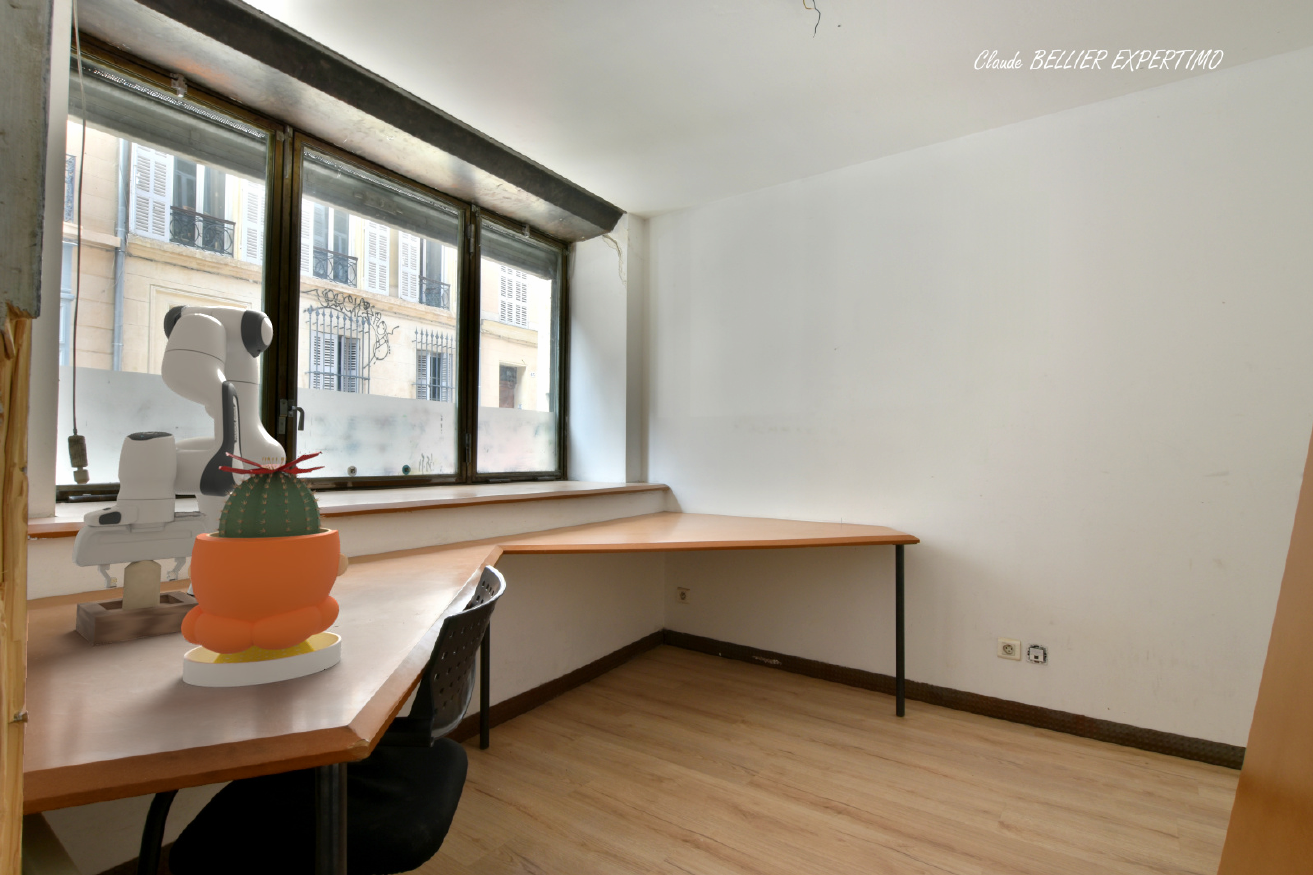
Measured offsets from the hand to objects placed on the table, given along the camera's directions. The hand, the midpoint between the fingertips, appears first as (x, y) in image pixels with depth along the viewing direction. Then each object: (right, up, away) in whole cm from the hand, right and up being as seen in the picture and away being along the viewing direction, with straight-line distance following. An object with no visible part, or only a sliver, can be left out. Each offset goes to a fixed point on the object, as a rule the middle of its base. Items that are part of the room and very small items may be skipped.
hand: (142, 583), depth 117 cm
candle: (0, -5, 0) cm, 5 cm away
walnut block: (0, -9, 0) cm, 9 cm away
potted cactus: (+39, -8, -23) cm, 46 cm away
